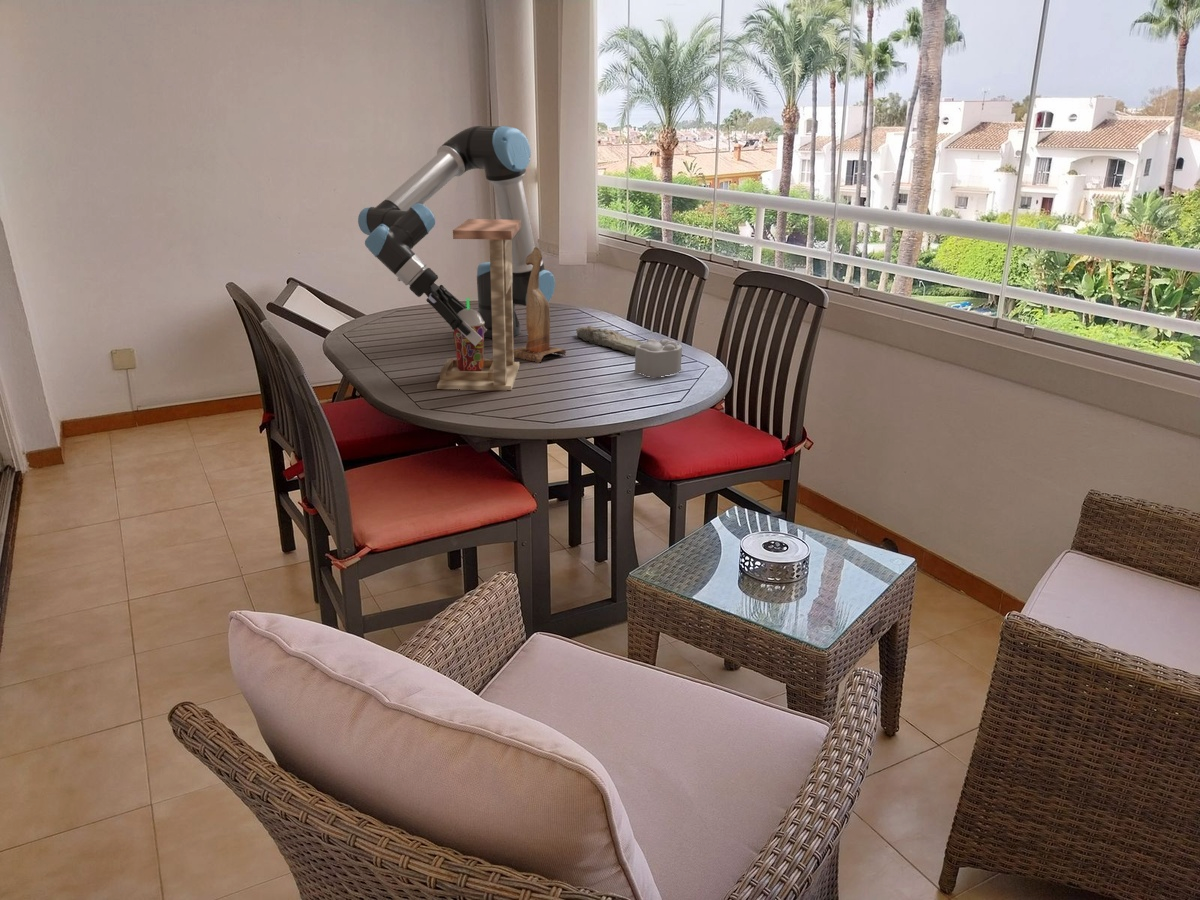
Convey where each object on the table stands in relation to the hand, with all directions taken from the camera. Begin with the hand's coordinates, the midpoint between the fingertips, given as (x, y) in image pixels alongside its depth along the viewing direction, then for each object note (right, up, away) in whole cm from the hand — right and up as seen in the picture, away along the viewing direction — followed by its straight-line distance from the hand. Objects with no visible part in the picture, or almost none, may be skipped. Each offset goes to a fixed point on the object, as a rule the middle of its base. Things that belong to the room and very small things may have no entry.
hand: (481, 337), depth 229 cm
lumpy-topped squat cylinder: (+48, -8, +12) cm, 50 cm away
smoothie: (-3, -9, +4) cm, 10 cm away
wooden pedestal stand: (0, -10, +4) cm, 11 cm away
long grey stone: (+36, +2, +39) cm, 53 cm away
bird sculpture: (+14, -3, +25) cm, 29 cm away
